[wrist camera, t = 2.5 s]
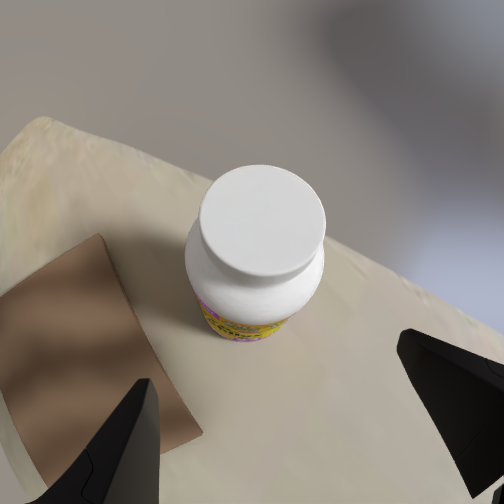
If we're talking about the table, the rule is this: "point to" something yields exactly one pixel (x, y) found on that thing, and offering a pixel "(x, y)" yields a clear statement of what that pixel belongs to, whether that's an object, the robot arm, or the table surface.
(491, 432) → the robot arm
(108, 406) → the walnut board
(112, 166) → the table surface
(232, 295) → the supplement bottle
